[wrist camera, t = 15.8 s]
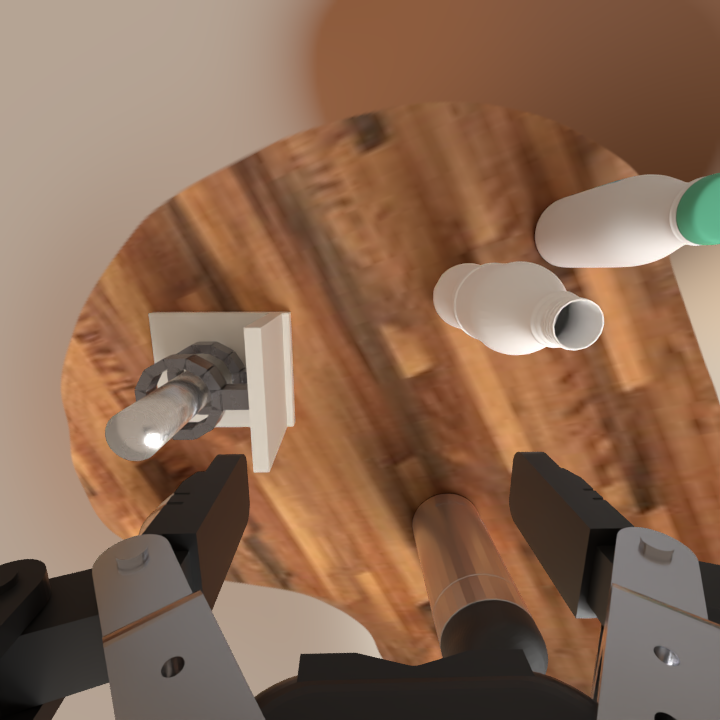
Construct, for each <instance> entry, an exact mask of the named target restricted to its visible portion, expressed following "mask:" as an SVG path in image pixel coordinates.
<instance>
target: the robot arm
mask: <svg viewBox="0 0 720 720" xmlns="http://www.w3.org/2000/svg"><path fill="white" fill-rule="evenodd" d="M509 505H510V512H511V515H512V518H513V521H514V522H515V524H516V525H517V527H518V529H519V530H520V532H521V533H522V535H523V536H524V538H525V540H526V541H527V543H528V544H529V546H530V547H531V549H532V550H533V552H534V554H535V555H536V557H537V558H538V560H539V561H540V563H541V564H542V566H543V568H544V569H545V571H546V572H547V574H548V575H549V577H550V579H551V580H552V582H553V583H554V585H555V586H556V588H557V589H558V591H559V593H560V594H561V596H562V597H563V599H564V600H565V602H566V604H567V605H568V607H569V608H570V610H571V611H572V613H573V614H574V616H575V618H598V619H599V621H600V622H601V628H600V633H599V640H598V647H597V655H596V662H595V669H594V676H593V684H592V691H591V698H590V697H589V696H587V695H586V694H584V693H583V692H581V691H579V690H577V689H576V688H574V687H572V686H570V685H568V684H566V683H564V682H562V681H560V680H558V679H555V678H553V677H550V676H547V675H545V673H546V670H547V666H548V654H547V649H546V645H545V642H544V640H543V638H542V635H541V633H540V631H539V630H538V628H537V626H536V624H535V622H534V620H533V618H532V616H531V614H530V612H529V610H528V608H527V606H526V605H525V603H524V601H523V599H522V597H521V595H520V593H519V591H518V589H517V587H516V586H515V584H514V582H513V580H512V578H511V576H510V574H509V572H508V570H507V568H506V566H505V564H504V562H503V560H502V558H501V556H500V554H499V553H498V551H497V549H496V547H495V545H494V543H493V541H492V539H491V537H490V535H489V533H488V531H487V529H486V527H485V525H484V523H483V521H482V519H481V517H480V516H479V514H478V512H477V510H476V508H475V507H474V505H473V504H472V503H471V502H470V501H469V500H468V499H466V498H464V497H462V496H459V495H456V494H440V495H436V496H433V497H431V498H429V499H427V500H426V501H425V502H423V503H422V504H421V505H420V506H419V508H418V509H417V511H416V512H415V514H414V517H413V521H412V528H413V533H414V537H415V541H416V546H417V551H418V555H419V559H420V564H421V568H422V572H423V576H424V581H425V585H426V589H427V593H428V598H429V602H430V606H431V610H432V615H433V619H434V622H435V627H436V631H437V635H438V639H439V644H440V648H441V652H442V656H443V658H442V659H439V660H435V661H432V662H429V663H426V664H422V665H418V666H410V665H405V664H401V663H397V662H392V661H388V660H384V659H380V658H375V657H371V656H367V655H363V654H358V653H327V654H301V656H300V663H299V671H298V675H297V676H294V677H291V678H288V679H286V680H283V681H281V682H279V683H277V684H275V685H273V686H271V687H269V688H268V689H266V690H264V691H262V692H261V693H259V694H258V695H257V696H255V697H254V696H253V694H252V692H251V690H250V688H249V686H248V684H247V682H246V680H245V678H244V676H243V674H242V672H241V669H240V667H239V665H238V664H237V661H236V659H235V657H234V655H233V653H232V651H231V649H230V647H229V645H228V643H227V641H226V639H225V637H224V635H223V633H222V631H221V629H220V627H219V625H218V623H217V621H216V619H215V617H214V615H213V613H212V609H213V607H214V604H215V601H216V599H217V597H218V594H219V592H220V589H221V587H222V584H223V582H224V579H225V577H226V575H227V572H228V570H229V567H230V565H231V562H232V560H233V557H234V555H235V552H236V550H237V547H238V545H239V542H240V540H241V537H242V535H243V532H244V530H245V527H246V525H247V522H248V517H249V508H250V501H249V487H248V474H247V461H246V457H245V455H244V454H225V455H217V456H216V457H215V459H214V460H213V462H212V463H211V464H210V466H209V467H208V469H207V470H206V472H197V473H195V474H194V475H192V476H191V477H189V478H188V479H186V480H185V481H183V482H182V483H181V485H180V486H179V487H178V489H177V490H176V491H175V492H174V495H172V496H171V498H170V499H169V500H168V501H167V504H166V505H164V506H163V508H162V509H161V510H160V512H159V513H158V514H157V515H156V517H155V518H154V519H153V521H152V522H151V523H150V524H149V526H148V527H147V528H146V530H145V531H144V532H143V533H142V535H138V536H134V537H131V538H128V539H125V540H123V541H121V542H118V543H117V544H115V545H113V546H111V547H110V548H108V549H107V550H106V551H104V552H103V553H102V554H101V555H100V556H99V557H98V558H97V560H96V561H95V563H94V565H93V568H92V569H88V570H85V571H81V572H76V573H72V574H67V575H63V576H59V577H55V578H51V579H49V578H48V573H47V569H46V566H45V564H44V563H43V562H41V561H39V560H34V559H24V560H17V561H13V562H10V563H5V564H3V565H0V720H52V718H53V716H54V715H55V713H56V711H57V709H58V708H59V706H60V705H61V703H62V701H63V699H64V698H65V697H66V696H69V695H72V694H75V693H78V692H81V691H84V690H87V689H90V688H93V687H96V686H100V685H103V684H106V683H110V689H111V695H112V702H113V708H114V714H115V720H720V565H716V564H711V563H705V562H700V561H698V559H697V557H696V556H695V554H694V553H693V552H692V551H691V550H690V549H689V548H688V547H686V546H685V545H684V544H682V543H681V542H679V541H677V540H676V539H674V538H672V537H670V536H668V535H665V534H663V533H660V532H657V531H654V530H651V529H646V528H640V527H634V526H633V525H632V524H631V523H630V522H629V521H628V520H627V519H626V518H624V517H623V516H622V515H621V514H620V513H619V512H618V511H617V510H616V509H615V508H614V507H612V506H611V505H610V504H609V503H608V502H607V501H606V500H603V497H602V496H600V495H599V494H598V493H597V492H596V491H593V488H592V487H591V486H590V485H588V484H587V483H586V482H585V481H584V480H583V479H582V478H581V477H579V476H577V475H575V474H573V473H571V472H570V471H568V470H566V469H564V468H560V467H559V466H558V465H557V464H556V463H555V462H554V461H553V460H552V459H551V458H550V457H549V456H548V455H547V454H546V453H544V452H517V453H516V454H515V456H514V459H513V467H512V477H511V487H510V497H509Z"/></svg>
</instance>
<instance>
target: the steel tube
mask: <svg viewBox="0 0 720 720" xmlns="http://www.w3.org/2000/svg"><path fill="white" fill-rule="evenodd" d="M205 360H207V361H209V362H211V363H213V364H214V366H215V365H216V367H217V368H218V370H219V371H220V372H221V374H222V375H223V377H224V378H225V380H226V381H227V383H226V384H229V383H230V381H231V379H232V375H231V372H230V371H229V369H228V368H227V366H226V365H225V363H224V362H223V361H222V360H220V359H218V358H216V357H214V356H211V357H207V358H206V359H205ZM214 366H213V367H214ZM210 401H211V392H210V390H209V389H208V387H207V386H206V385H205V383H204V382H203V380H202V379H201V378H200V377H198V376H196V375H194V374H192V373H191V372H189V371H187V370H186V371H185V372H183V373H181V374H180V375H178V376H177V377H175V378H173V379H172V380H170V381H169V382H167V383H165V384H164V385H162V386H161V387H159V388H157V389H156V390H154V391H153V392H151V393H149V394H148V395H146V396H145V397H143V398H141V399H140V400H138V401H137V402H135V403H133V404H132V405H130V406H129V407H127V408H125V409H124V410H122V411H121V412H119V413H117V414H116V415H114V416H113V417H112V418H111V419H110V420H109V421H108V423H107V426H106V429H105V437H106V441H107V443H108V445H109V447H110V448H111V449H112V451H113V452H114V453H116V454H117V455H118V456H120V457H122V458H124V459H126V460H130V461H142V460H145V459H148V458H150V457H151V456H153V455H154V454H155V453H156V452H157V451H158V450H159V449H160V448H161V447H162V446H163V445H164V444H165V443H166V442H168V441H169V440H170V439H171V438H172V437H173V436H174V435H175V434H176V433H177V432H178V431H179V430H180V429H181V428H182V427H183V426H184V425H186V424H187V423H188V422H189V421H190V420H191V419H192V418H193V417H194V416H195V415H196V414H197V413H198V412H199V411H200V410H201V409H202V408H203V407H205V406H206V405H207V404H208V403H209V402H210Z"/></svg>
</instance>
